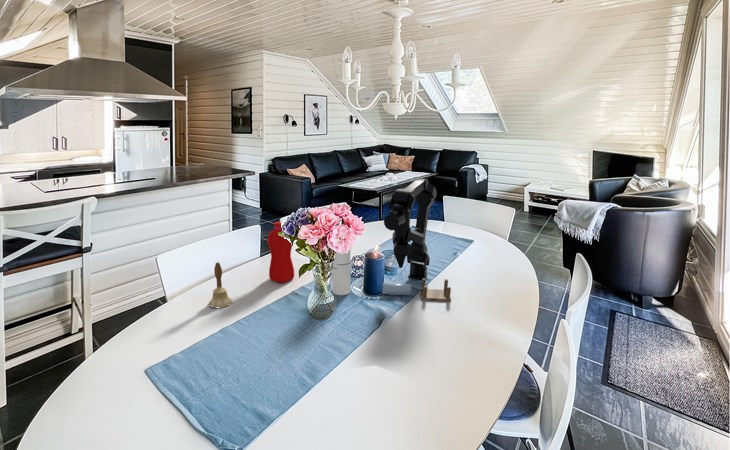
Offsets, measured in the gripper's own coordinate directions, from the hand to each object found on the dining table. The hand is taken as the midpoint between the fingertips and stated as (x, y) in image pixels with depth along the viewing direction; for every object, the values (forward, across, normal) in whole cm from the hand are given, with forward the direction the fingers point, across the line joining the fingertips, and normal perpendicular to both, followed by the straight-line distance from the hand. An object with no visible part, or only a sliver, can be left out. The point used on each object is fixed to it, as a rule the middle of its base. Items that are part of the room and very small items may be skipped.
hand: (400, 263), depth 147 cm
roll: (+13, 0, +1) cm, 13 cm away
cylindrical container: (+13, +2, +23) cm, 26 cm away
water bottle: (+14, +12, +49) cm, 52 cm away
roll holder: (+13, 0, -14) cm, 19 cm away
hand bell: (+14, -12, +66) cm, 68 cm away
